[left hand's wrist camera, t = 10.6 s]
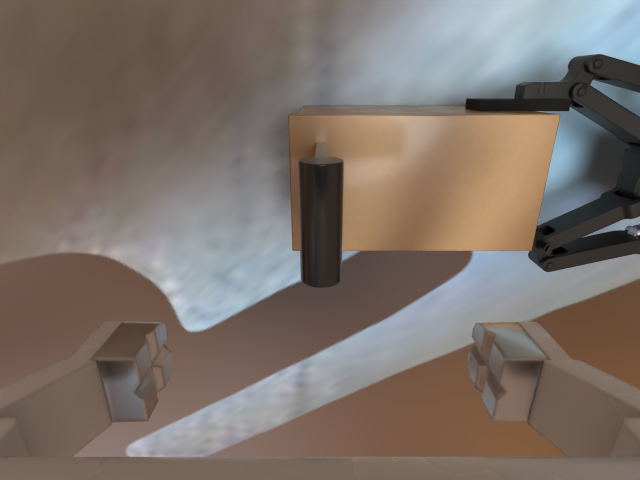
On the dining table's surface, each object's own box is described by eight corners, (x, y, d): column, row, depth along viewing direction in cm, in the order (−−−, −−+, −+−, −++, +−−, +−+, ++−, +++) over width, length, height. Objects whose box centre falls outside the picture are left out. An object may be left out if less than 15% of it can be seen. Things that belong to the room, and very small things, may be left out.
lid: (293, 244, 29) (281, 314, 20) (289, 113, 26) (273, 128, 17) (523, 244, 29) (612, 313, 20) (550, 113, 26) (670, 128, 17)
